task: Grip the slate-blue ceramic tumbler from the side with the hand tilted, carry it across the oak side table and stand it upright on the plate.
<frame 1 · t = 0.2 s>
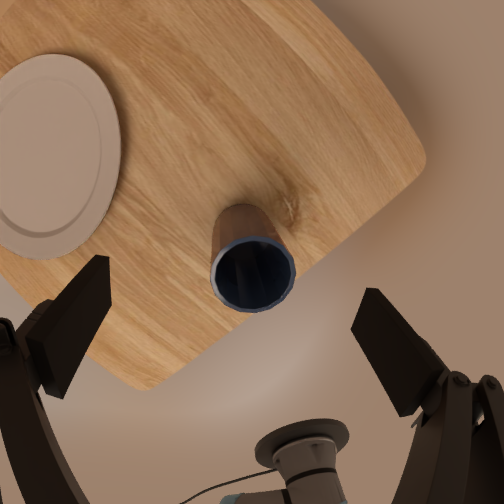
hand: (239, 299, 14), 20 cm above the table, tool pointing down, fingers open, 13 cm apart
plate: (36, 156, 27), on the table
tumbler: (243, 233, 34), on the table
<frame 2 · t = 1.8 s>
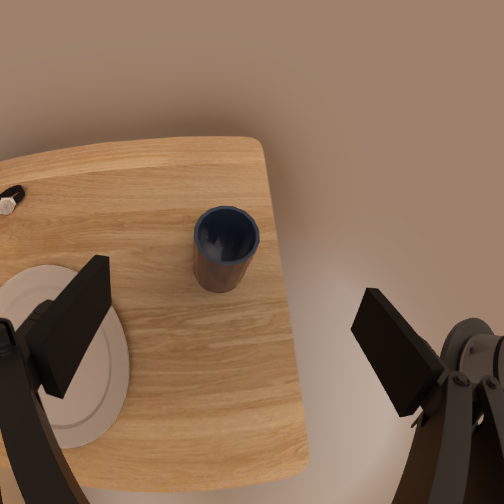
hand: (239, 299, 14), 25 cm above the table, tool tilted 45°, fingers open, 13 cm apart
plate: (48, 357, 31), on the table
tumbler: (218, 269, 40), on the table
watch: (10, 204, 38), on the table
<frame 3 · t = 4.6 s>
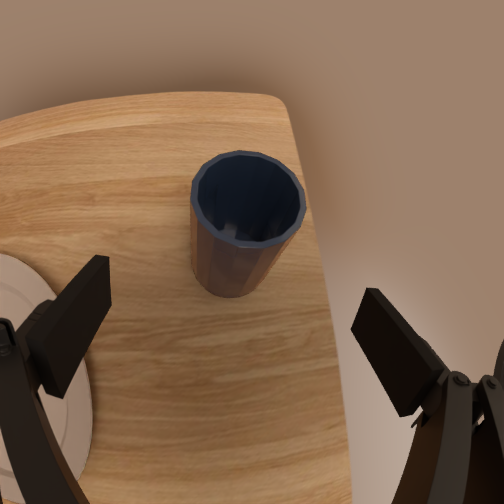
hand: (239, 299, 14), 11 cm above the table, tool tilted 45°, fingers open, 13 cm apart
tumbler: (229, 261, 27), on the table
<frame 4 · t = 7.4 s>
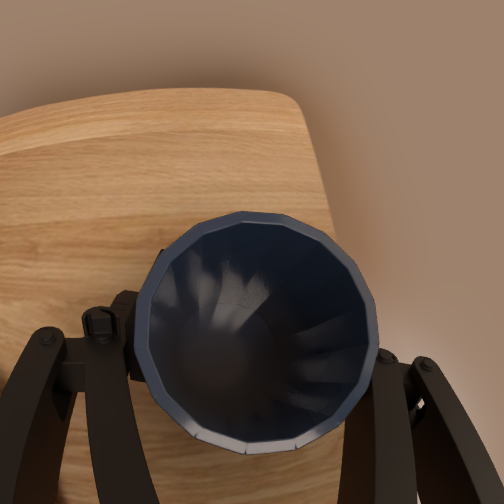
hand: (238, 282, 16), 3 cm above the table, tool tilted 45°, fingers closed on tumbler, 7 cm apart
tumbler: (226, 352, 17), on the table, touching gripper
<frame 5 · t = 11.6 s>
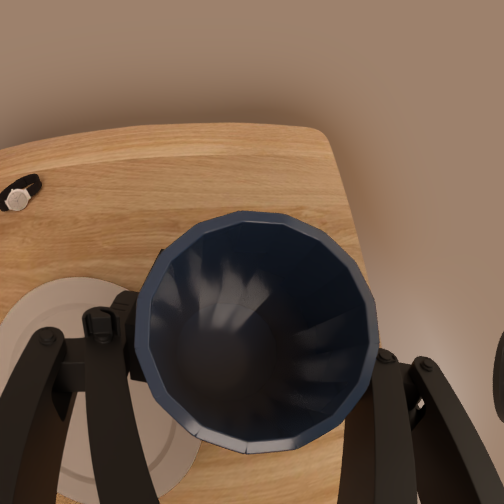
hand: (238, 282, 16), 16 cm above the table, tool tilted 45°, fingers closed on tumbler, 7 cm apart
plate: (85, 397, 24), on the table
tumbler: (226, 352, 17), point 12 cm above the table, touching gripper
watch: (22, 198, 31), on the table
when the fingers open (6 cm above the table, at t = 15.8 s): tumbler stays where it is, resting on plate.
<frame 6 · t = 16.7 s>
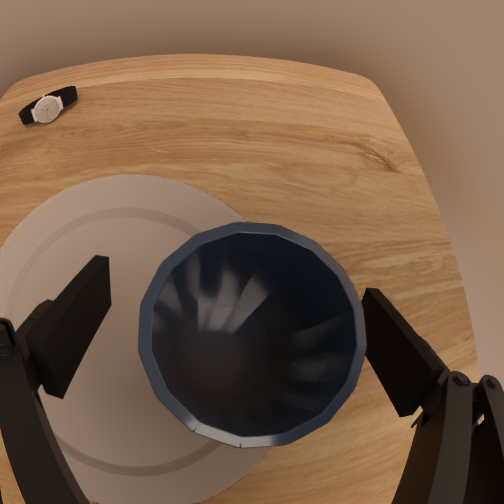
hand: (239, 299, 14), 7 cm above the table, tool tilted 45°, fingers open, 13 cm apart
plate: (119, 339, 19), on the table, touching tumbler
tumbler: (224, 353, 18), point 2 cm above the table, touching plate
watch: (51, 113, 26), on the table
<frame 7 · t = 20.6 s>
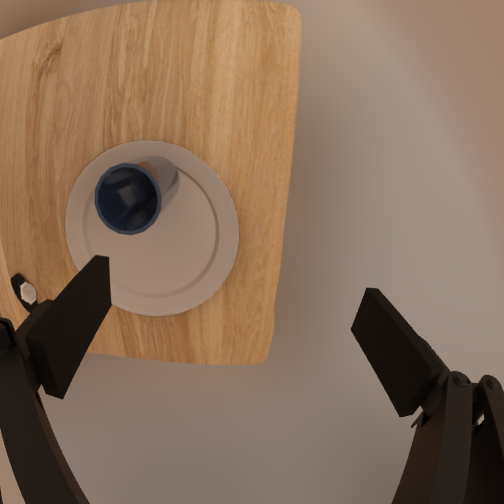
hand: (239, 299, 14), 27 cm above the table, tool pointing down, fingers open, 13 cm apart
plate: (148, 231, 40), on the table, touching tumbler
tumbler: (153, 181, 35), point 2 cm above the table, touching plate
watch: (28, 289, 41), on the table
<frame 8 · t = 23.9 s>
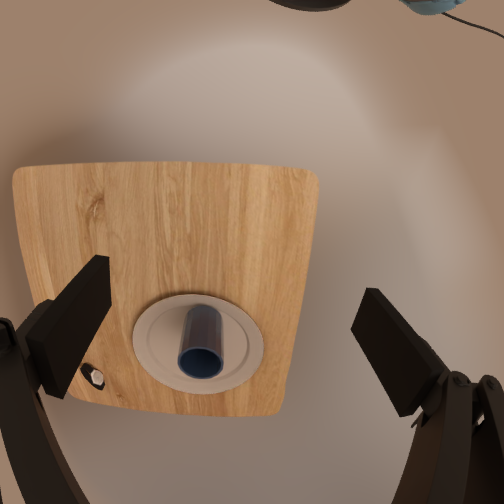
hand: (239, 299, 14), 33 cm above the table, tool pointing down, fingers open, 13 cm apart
plate: (197, 344, 55), on the table, touching tumbler
tumbler: (203, 321, 51), point 2 cm above the table, touching plate
watch: (94, 372, 57), on the table
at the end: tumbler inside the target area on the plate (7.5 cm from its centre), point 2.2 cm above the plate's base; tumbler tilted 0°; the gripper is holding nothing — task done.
